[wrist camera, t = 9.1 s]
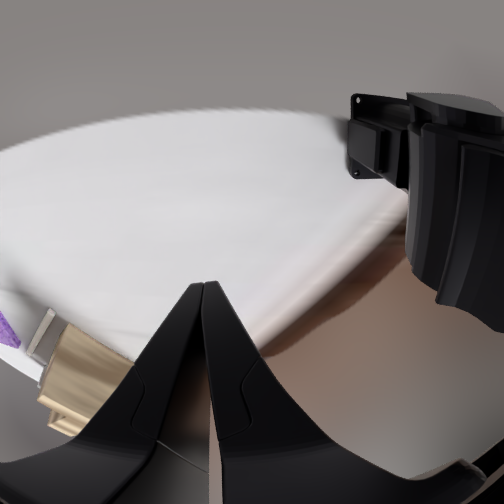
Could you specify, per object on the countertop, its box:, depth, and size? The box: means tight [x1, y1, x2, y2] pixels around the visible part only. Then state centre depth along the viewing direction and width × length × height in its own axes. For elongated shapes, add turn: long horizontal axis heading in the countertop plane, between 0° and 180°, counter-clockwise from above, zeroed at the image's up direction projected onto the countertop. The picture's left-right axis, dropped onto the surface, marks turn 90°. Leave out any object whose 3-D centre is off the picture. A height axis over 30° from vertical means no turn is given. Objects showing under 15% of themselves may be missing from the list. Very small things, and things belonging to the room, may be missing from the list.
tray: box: [26, 308, 56, 388], centre depth 29 cm, size 18×18×4 cm
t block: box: [37, 323, 135, 436], centre depth 26 cm, size 16×12×10 cm
